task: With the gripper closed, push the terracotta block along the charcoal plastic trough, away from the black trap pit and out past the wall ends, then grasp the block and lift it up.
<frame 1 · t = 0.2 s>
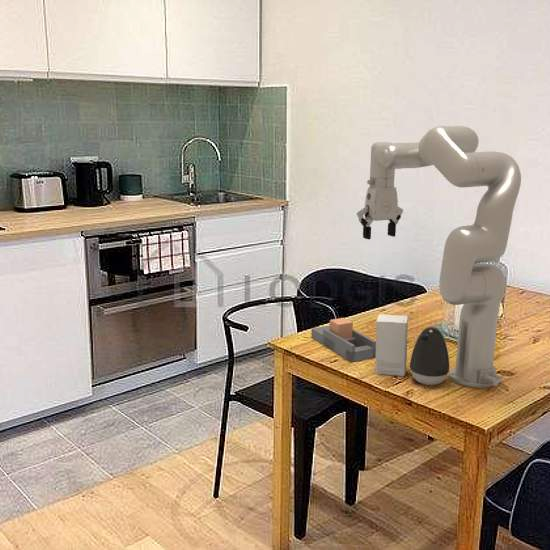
hand: (379, 237, 204), 31 cm above the table, tool pointing down, fingers open, 9 cm apart
block: (340, 336, 196), point 3 cm above the table, touching trough
egg-shaped speaker: (428, 382, 171), on the table
skincare box: (390, 371, 178), on the table
trough: (343, 347, 195), on the table
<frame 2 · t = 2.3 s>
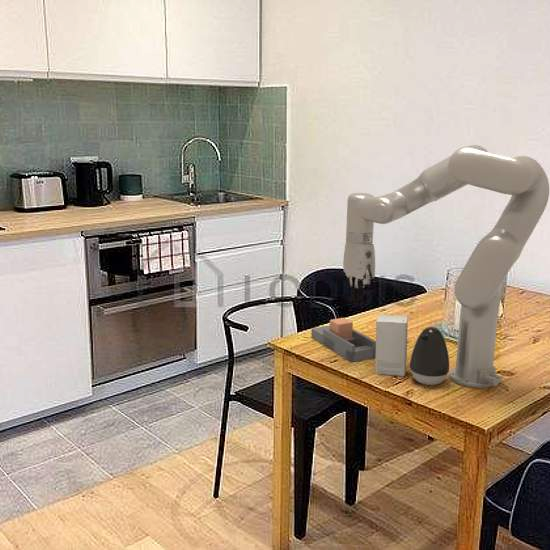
hand: (356, 299, 185), 17 cm above the table, tool pointing down, fingers closed
nothing on the table moved.
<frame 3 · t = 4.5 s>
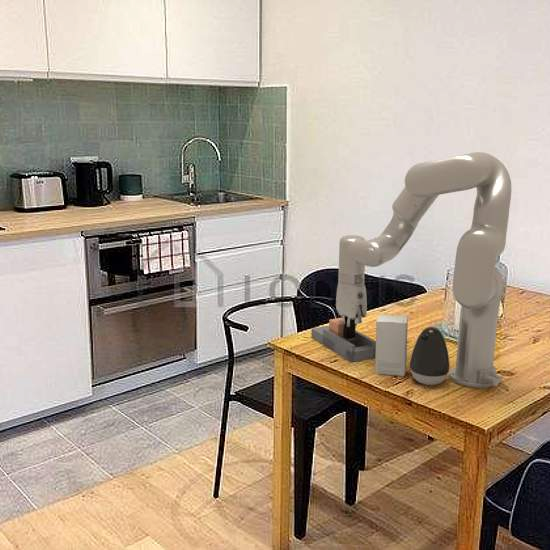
hand: (349, 337, 191), 4 cm above the table, tool pointing down, fingers closed
block: (340, 336, 196), point 3 cm above the table, touching gripper, trough
everything else where it was.
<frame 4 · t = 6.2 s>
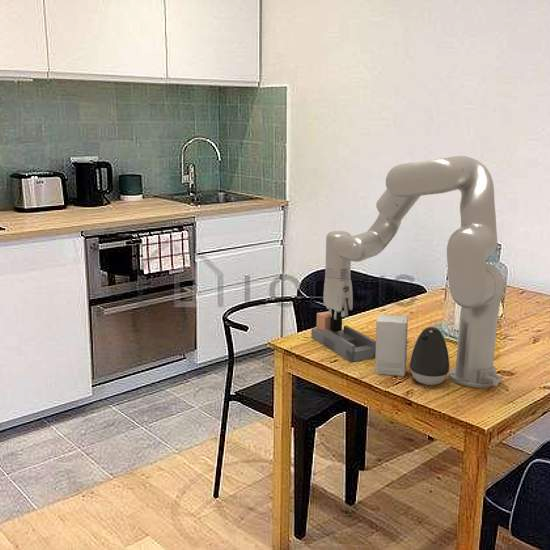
hand: (336, 330, 198), 4 cm above the table, tool pointing down, fingers closed
block: (327, 329, 202), point 3 cm above the table, touching gripper, trough
everything else where it was.
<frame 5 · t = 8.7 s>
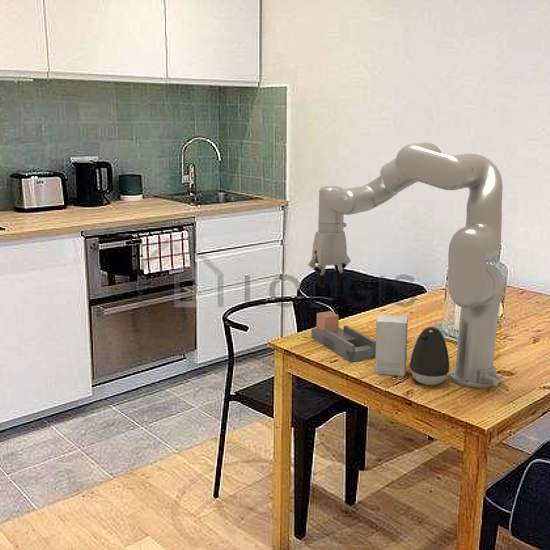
hand: (329, 285, 199), 17 cm above the table, tool pointing down, fingers open, 4 cm apart
block: (327, 329, 202), point 3 cm above the table, touching trough
everything else where it was.
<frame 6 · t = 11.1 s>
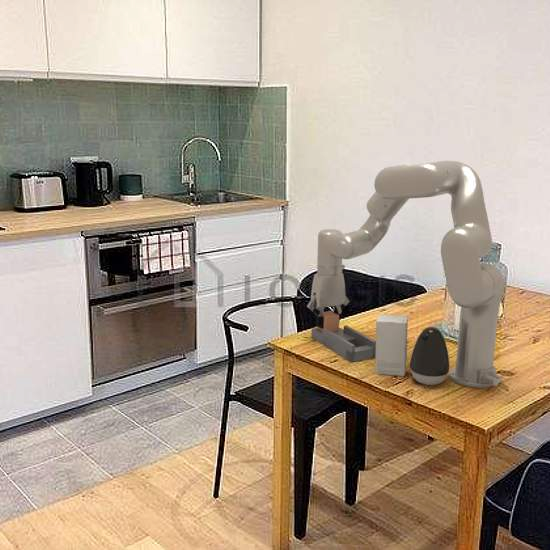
hand: (327, 325, 202), 4 cm above the table, tool pointing down, fingers closed on block, 4 cm apart
block: (327, 329, 202), point 3 cm above the table, touching gripper, trough
everything else where it was.
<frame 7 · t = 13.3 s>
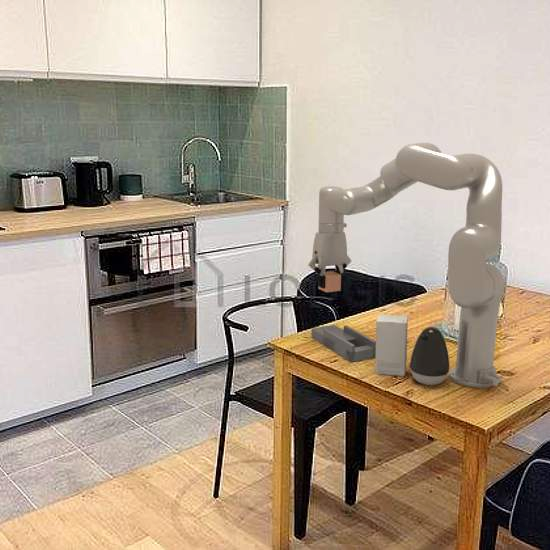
hand: (329, 285, 199), 17 cm above the table, tool pointing down, fingers closed on block, 4 cm apart
block: (329, 289, 199), point 16 cm above the table, touching gripper
everything else where it was.
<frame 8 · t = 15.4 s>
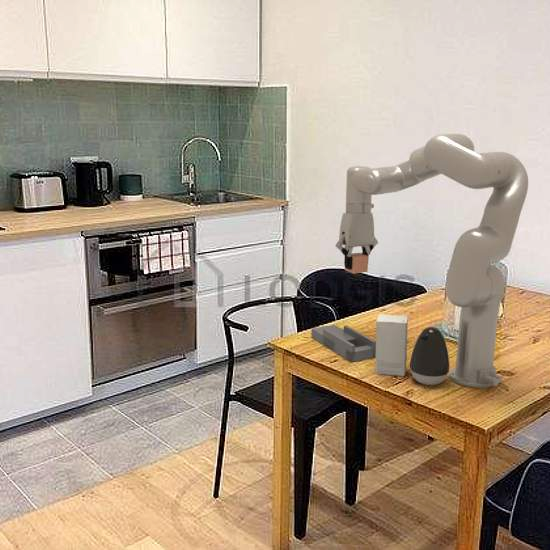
hand: (356, 267, 197), 23 cm above the table, tool pointing down, fingers closed on block, 4 cm apart
block: (356, 271, 197), point 22 cm above the table, touching gripper
everything else where it was.
at the end: block point 22.1 cm above the table; the gripper is holding block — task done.
